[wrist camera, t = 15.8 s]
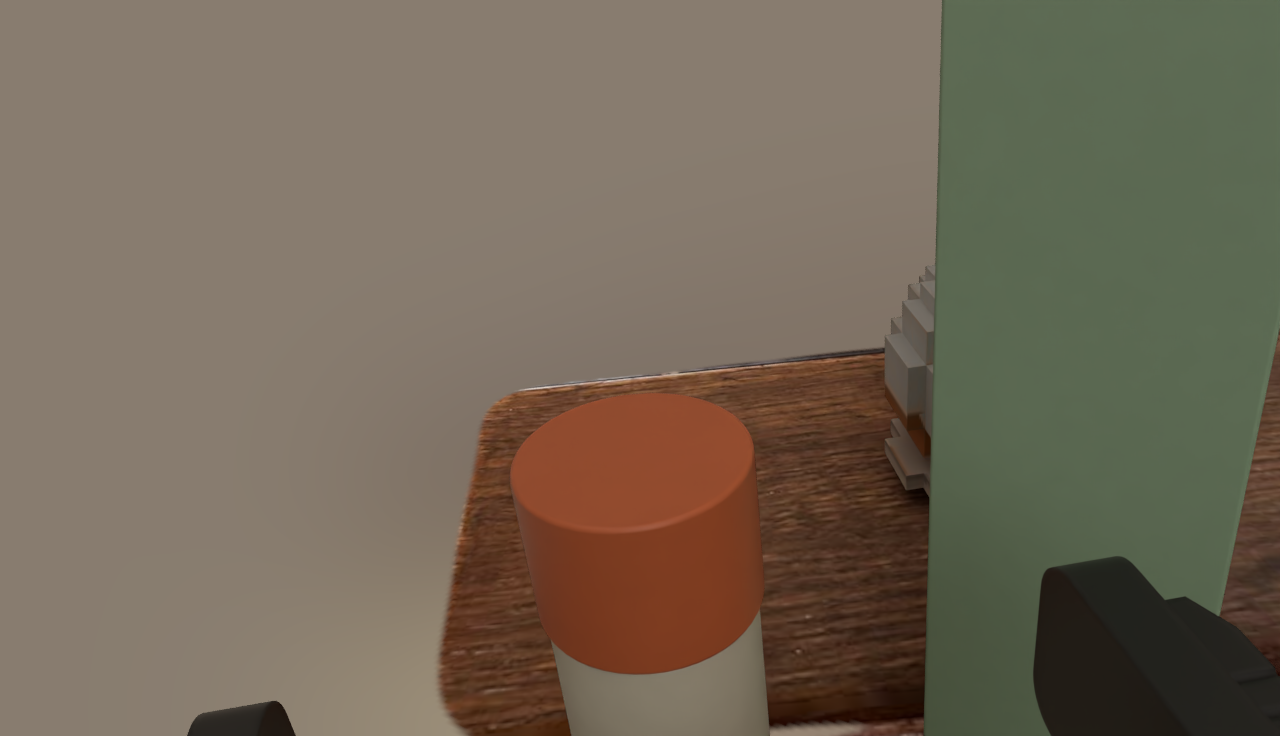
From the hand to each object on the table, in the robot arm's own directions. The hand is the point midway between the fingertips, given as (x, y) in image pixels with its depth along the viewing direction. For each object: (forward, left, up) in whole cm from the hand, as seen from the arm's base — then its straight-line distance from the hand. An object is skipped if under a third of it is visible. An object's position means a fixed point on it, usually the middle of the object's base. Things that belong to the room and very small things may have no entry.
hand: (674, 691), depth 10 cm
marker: (+3, +2, -11) cm, 12 cm away
